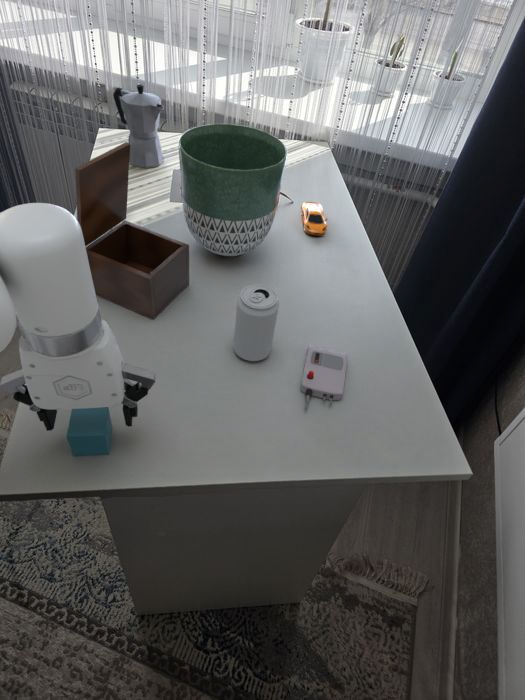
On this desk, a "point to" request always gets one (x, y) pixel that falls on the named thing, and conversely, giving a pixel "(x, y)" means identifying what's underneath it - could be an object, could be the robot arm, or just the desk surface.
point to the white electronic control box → (324, 374)
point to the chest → (138, 268)
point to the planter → (230, 185)
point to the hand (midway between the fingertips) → (91, 419)
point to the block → (89, 431)
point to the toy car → (313, 218)
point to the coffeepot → (141, 125)
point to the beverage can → (255, 322)
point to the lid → (102, 192)
